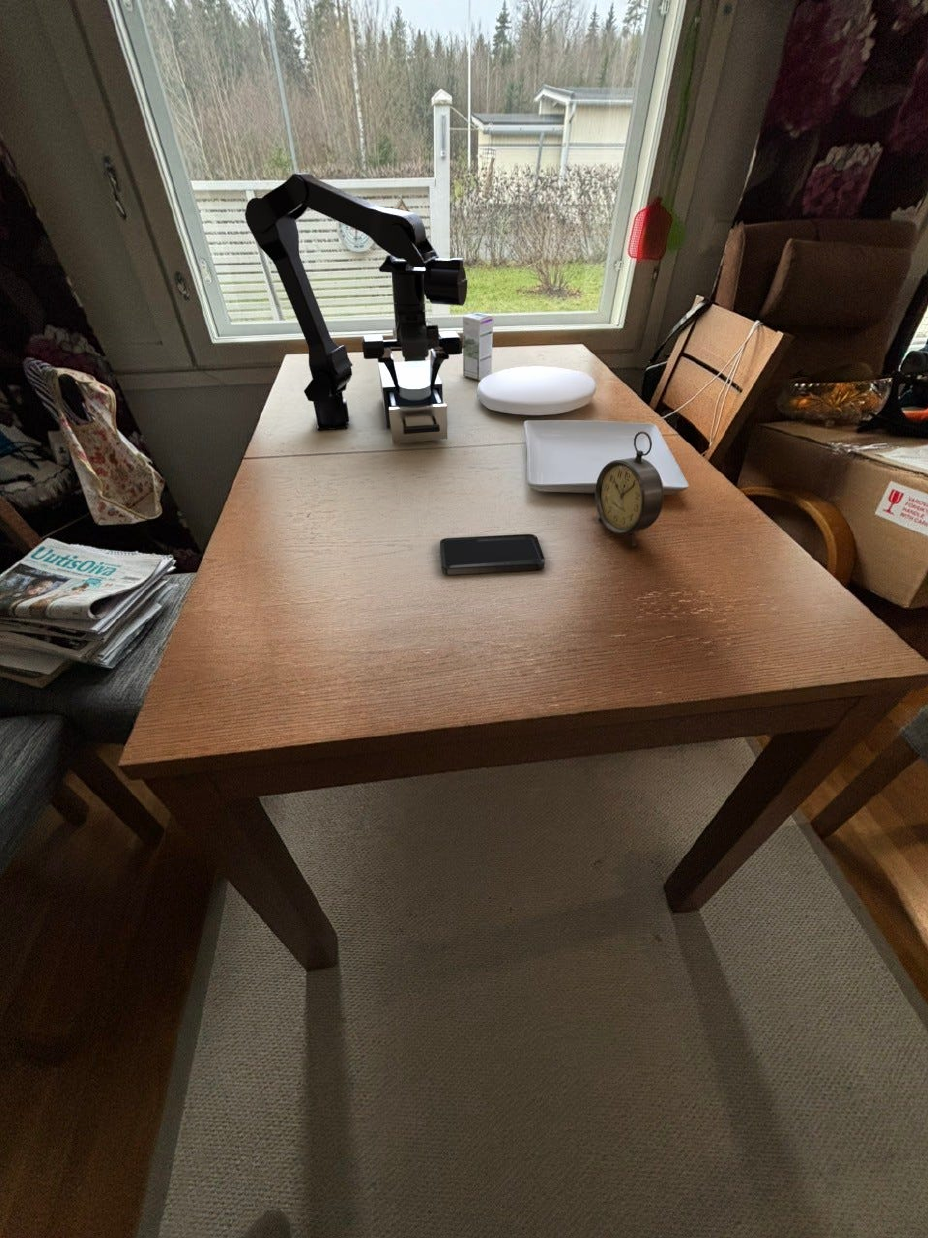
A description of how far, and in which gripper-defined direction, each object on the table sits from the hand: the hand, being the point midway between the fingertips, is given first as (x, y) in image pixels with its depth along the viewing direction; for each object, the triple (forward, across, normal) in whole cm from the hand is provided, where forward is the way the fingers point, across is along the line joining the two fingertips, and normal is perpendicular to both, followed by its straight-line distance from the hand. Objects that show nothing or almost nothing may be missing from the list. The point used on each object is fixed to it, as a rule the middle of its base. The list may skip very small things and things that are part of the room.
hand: (414, 391), depth 102 cm
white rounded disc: (+9, +30, +14) cm, 34 cm away
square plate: (+9, +32, -21) cm, 39 cm away
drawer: (+8, 0, 0) cm, 8 cm away
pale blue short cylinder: (+1, 0, 0) cm, 1 cm away
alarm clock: (+9, +28, -43) cm, 52 cm away
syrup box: (+9, +20, +35) cm, 41 cm away
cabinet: (+9, 0, +13) cm, 16 cm away
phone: (+9, +6, -46) cm, 47 cm away
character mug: (+9, +4, +41) cm, 42 cm away
